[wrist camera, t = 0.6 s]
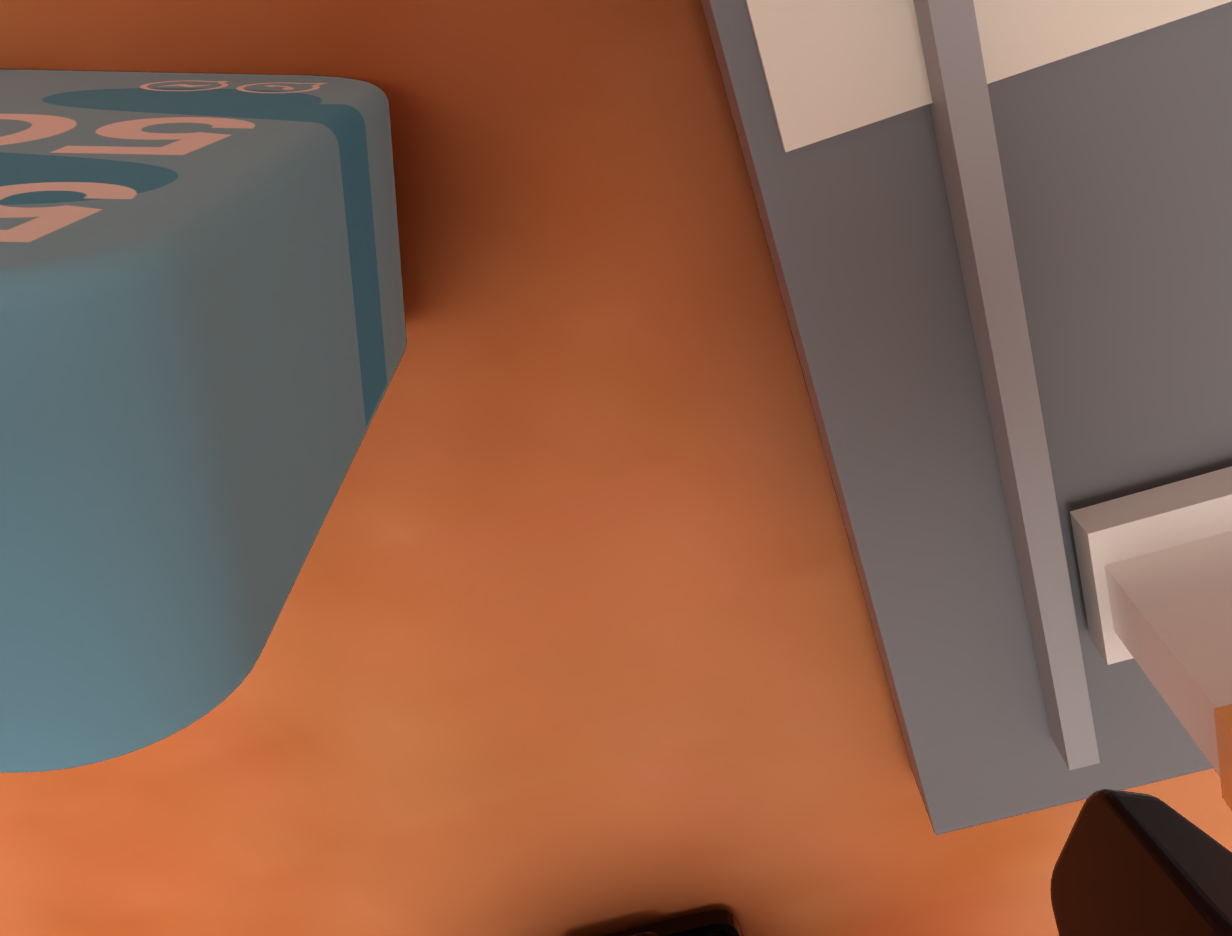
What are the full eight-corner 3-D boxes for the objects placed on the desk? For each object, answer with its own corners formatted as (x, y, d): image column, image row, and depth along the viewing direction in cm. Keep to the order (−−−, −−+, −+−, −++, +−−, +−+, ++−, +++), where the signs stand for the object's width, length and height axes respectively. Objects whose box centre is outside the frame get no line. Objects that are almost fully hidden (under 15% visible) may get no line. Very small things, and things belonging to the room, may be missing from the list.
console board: (1447, 636, 23) (1599, 763, 20) (912, 770, 25) (962, 910, 21) (1490, -880, 13) (1828, -1188, 9) (569, -478, 15) (557, -610, 11)
